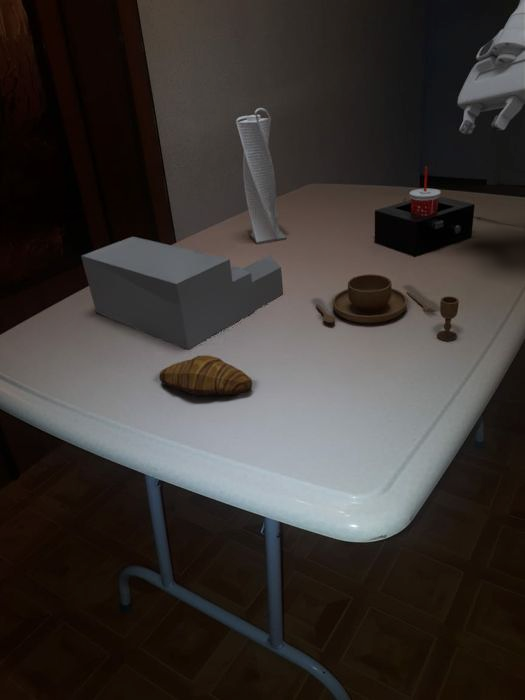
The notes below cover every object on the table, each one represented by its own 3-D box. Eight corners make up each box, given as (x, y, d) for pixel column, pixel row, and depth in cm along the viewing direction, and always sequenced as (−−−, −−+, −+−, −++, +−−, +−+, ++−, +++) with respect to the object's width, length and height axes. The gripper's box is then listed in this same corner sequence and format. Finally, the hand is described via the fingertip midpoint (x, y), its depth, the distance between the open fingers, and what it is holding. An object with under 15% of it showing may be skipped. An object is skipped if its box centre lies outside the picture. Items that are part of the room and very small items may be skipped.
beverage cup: (427, 228, 120) (431, 161, 113) (444, 236, 115) (448, 167, 108) (402, 233, 119) (404, 166, 112) (417, 241, 114) (421, 171, 107)
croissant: (150, 397, 75) (142, 365, 72) (172, 370, 80) (166, 340, 78) (243, 409, 70) (239, 375, 68) (260, 380, 76) (257, 348, 73)
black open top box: (428, 225, 126) (430, 194, 122) (476, 238, 115) (479, 205, 112) (374, 242, 119) (374, 210, 116) (419, 258, 109) (421, 223, 105)
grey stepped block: (284, 294, 100) (279, 235, 94) (188, 349, 85) (176, 283, 80) (191, 269, 115) (182, 218, 110) (96, 313, 101) (81, 255, 95)
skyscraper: (288, 240, 125) (278, 106, 111) (253, 246, 124) (239, 111, 110) (278, 230, 132) (267, 103, 119) (245, 236, 131) (230, 108, 117)
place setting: (405, 287, 98) (406, 255, 95) (464, 338, 81) (467, 301, 78) (309, 304, 95) (307, 272, 92) (348, 360, 78) (348, 323, 75)
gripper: (586, 45, 81) (535, 136, 83) (500, 70, 100) (461, 143, 102) (555, 21, 79) (504, 114, 81) (474, 51, 98) (435, 126, 100)
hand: (479, 130), depth 92 cm, fingers open, 8 cm apart
